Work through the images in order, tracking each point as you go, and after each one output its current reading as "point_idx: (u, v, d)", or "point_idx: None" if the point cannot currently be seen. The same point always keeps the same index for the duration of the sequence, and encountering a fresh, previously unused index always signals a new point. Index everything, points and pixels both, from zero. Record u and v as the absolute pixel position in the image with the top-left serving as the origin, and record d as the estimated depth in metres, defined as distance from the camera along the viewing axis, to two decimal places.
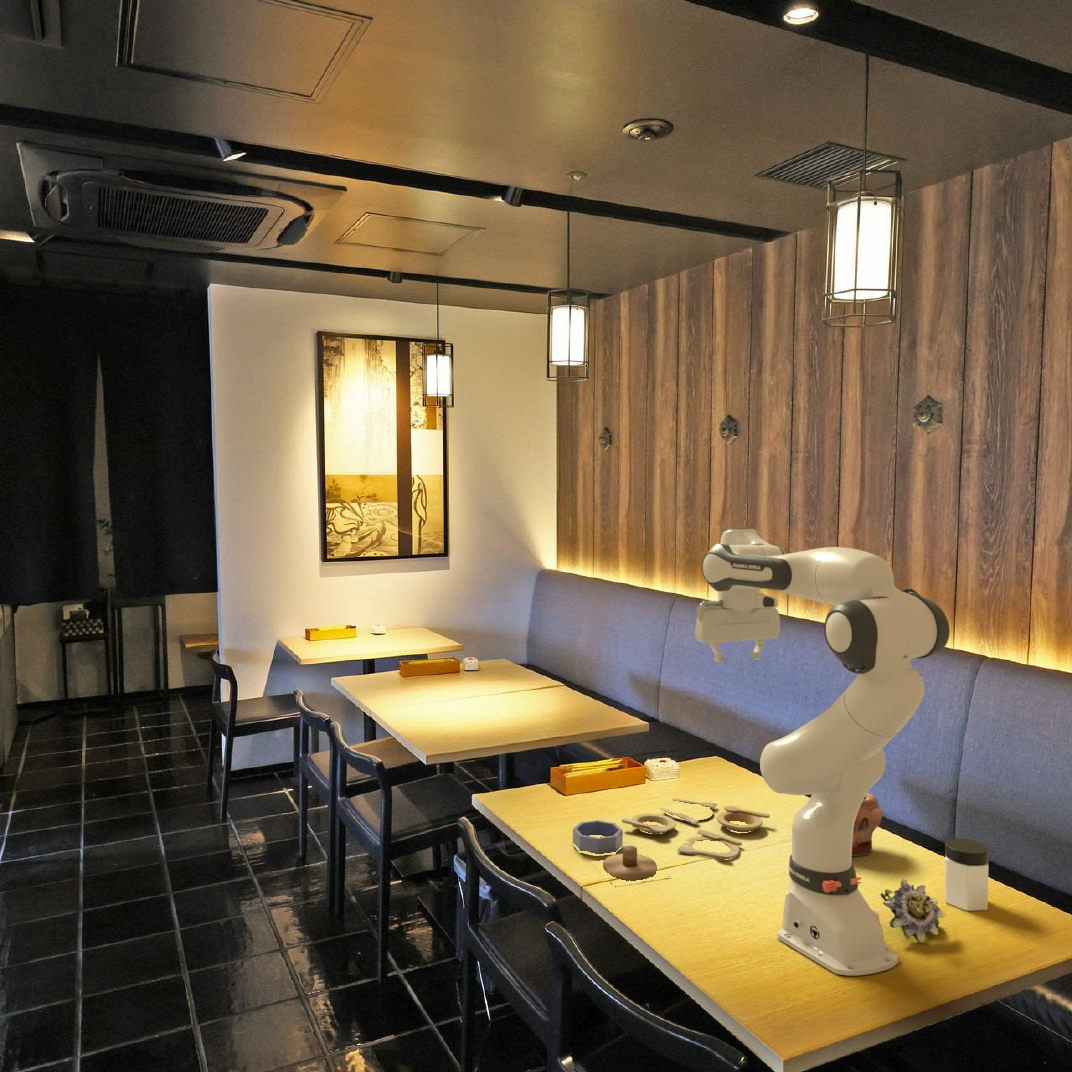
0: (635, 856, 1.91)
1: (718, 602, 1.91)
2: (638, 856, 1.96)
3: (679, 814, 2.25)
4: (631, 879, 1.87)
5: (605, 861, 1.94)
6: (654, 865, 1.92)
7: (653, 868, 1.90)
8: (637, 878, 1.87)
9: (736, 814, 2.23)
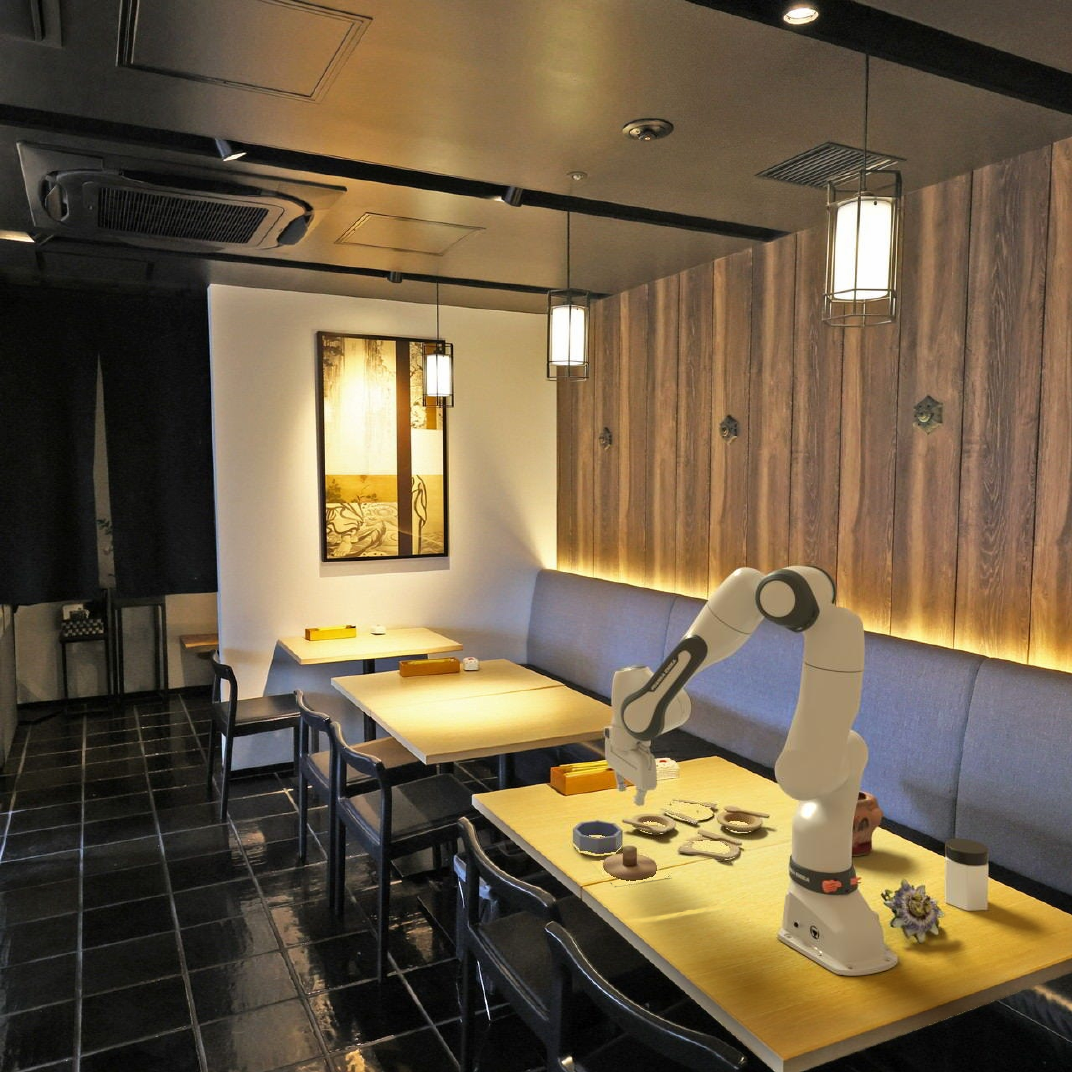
0: (635, 856, 1.91)
1: None
2: (637, 856, 1.97)
3: (679, 814, 2.25)
4: (631, 879, 1.87)
5: (605, 861, 1.94)
6: (654, 865, 1.92)
7: (653, 868, 1.90)
8: (637, 878, 1.87)
9: (736, 814, 2.23)
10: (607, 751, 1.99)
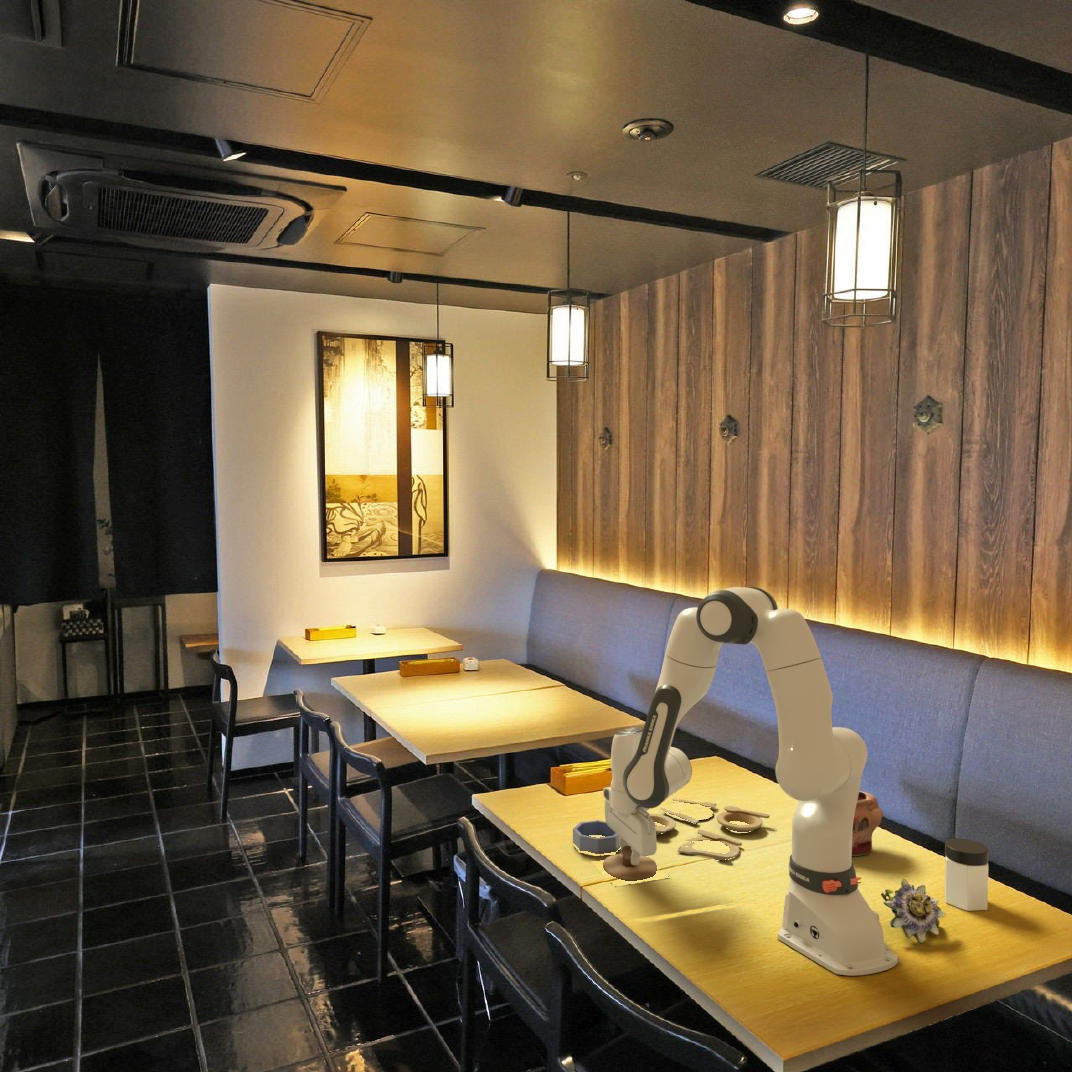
0: None
1: None
2: None
3: (679, 814, 2.25)
4: (631, 879, 1.87)
5: (605, 861, 1.94)
6: (654, 865, 1.92)
7: (653, 868, 1.90)
8: (637, 878, 1.87)
9: (736, 814, 2.23)
10: (607, 811, 2.00)
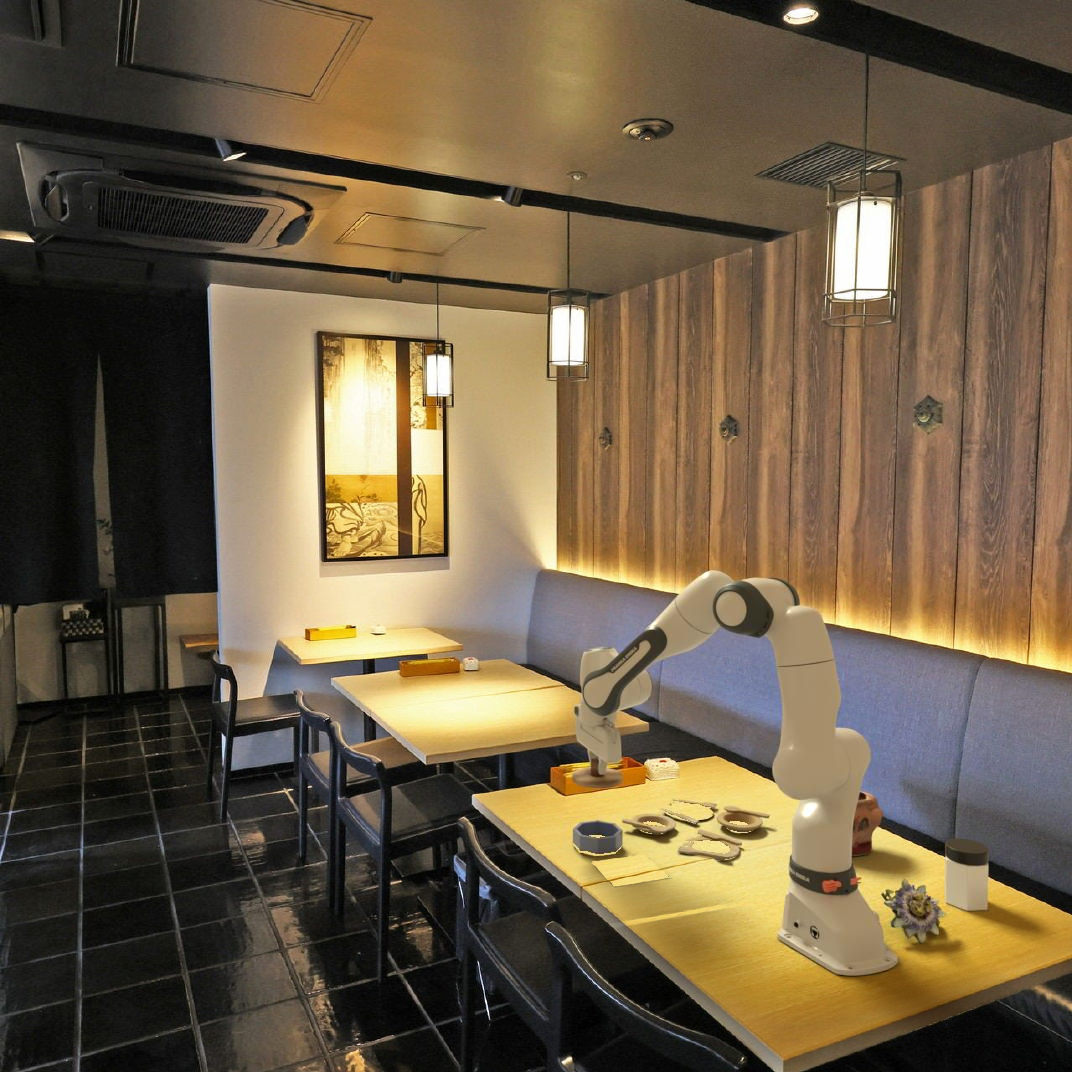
0: None
1: None
2: None
3: (679, 814, 2.25)
4: (598, 786, 1.98)
5: (574, 772, 2.06)
6: (620, 775, 2.04)
7: (619, 778, 2.02)
8: (603, 785, 1.99)
9: (736, 814, 2.23)
10: (577, 728, 2.11)
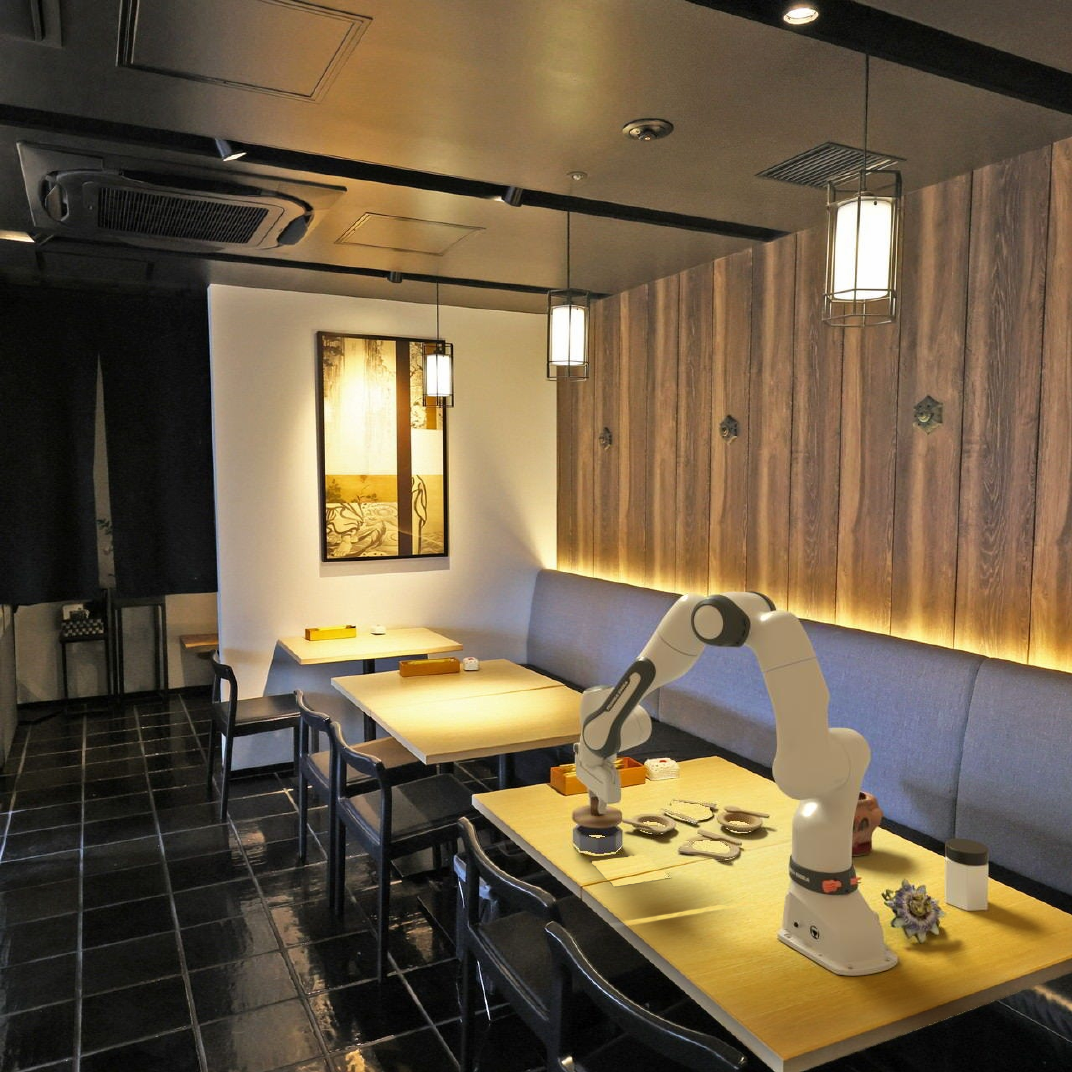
0: None
1: None
2: None
3: (679, 814, 2.25)
4: (598, 826, 1.99)
5: (574, 811, 2.06)
6: (620, 814, 2.04)
7: (619, 817, 2.03)
8: (603, 825, 1.99)
9: (736, 814, 2.23)
10: (577, 766, 2.12)
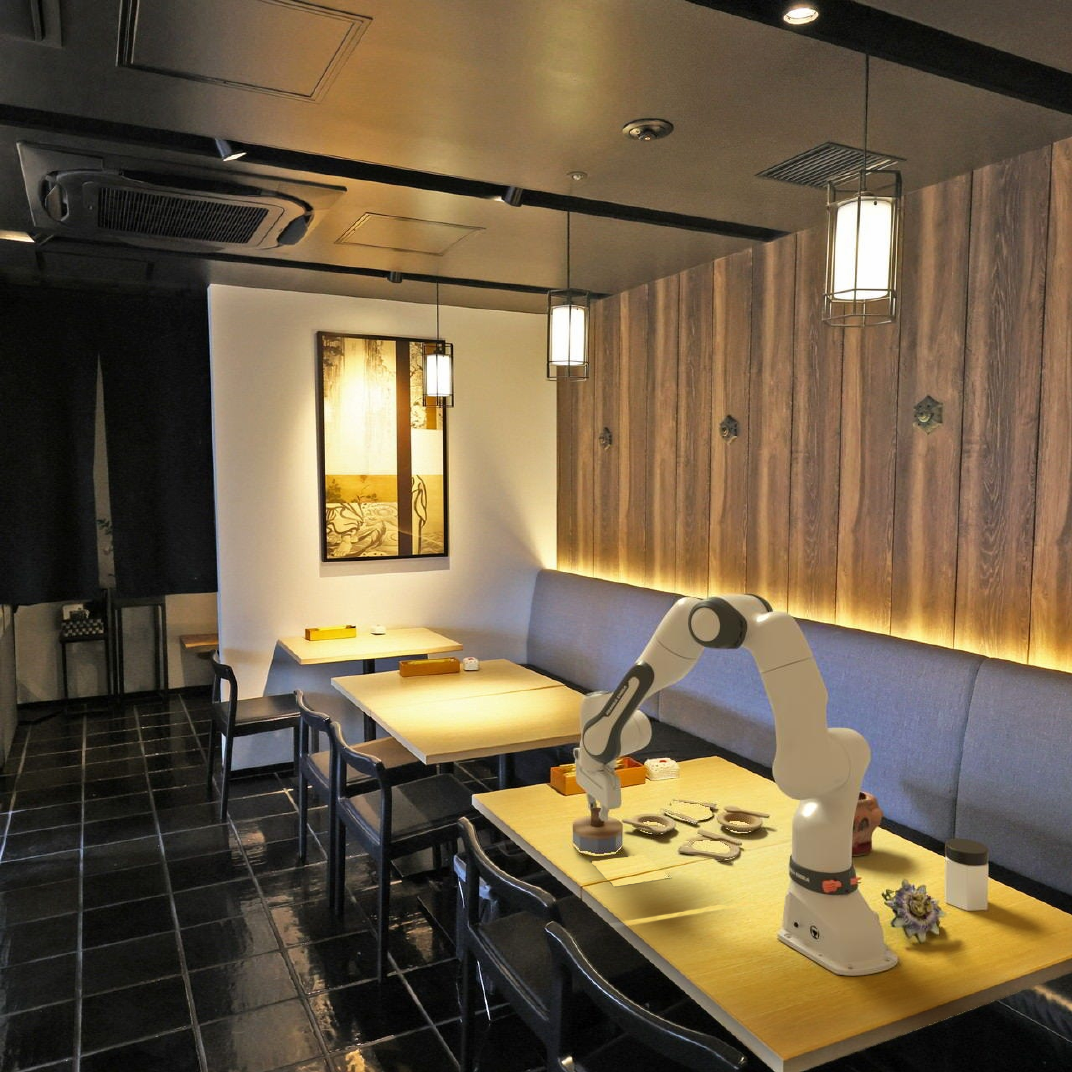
0: None
1: None
2: None
3: (679, 814, 2.25)
4: (598, 837, 1.99)
5: (575, 822, 2.06)
6: (620, 825, 2.04)
7: (619, 828, 2.03)
8: (604, 836, 1.99)
9: (736, 814, 2.23)
10: (577, 771, 2.12)
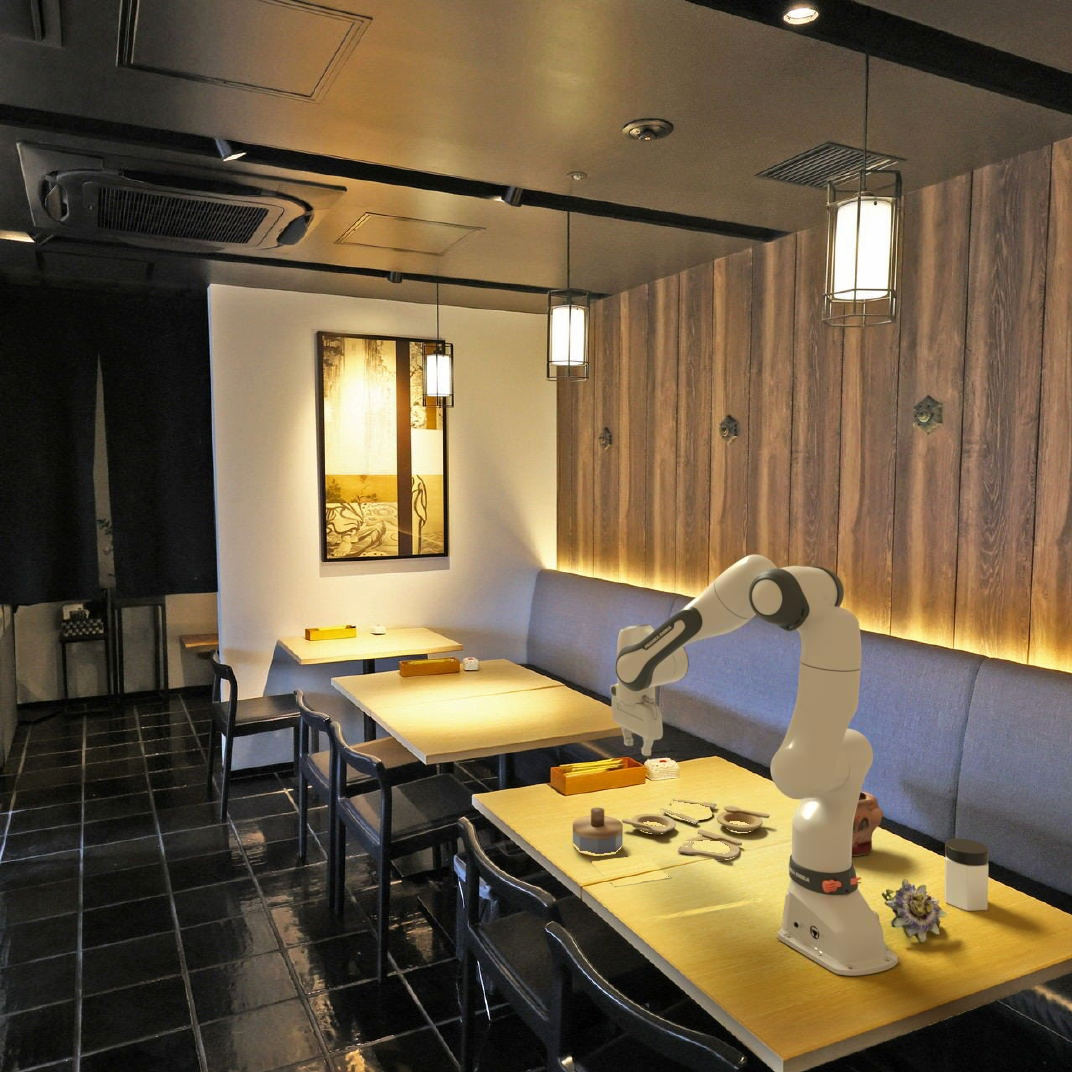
0: (602, 817, 2.04)
1: None
2: (605, 818, 2.09)
3: (679, 814, 2.25)
4: (598, 837, 1.99)
5: (575, 822, 2.06)
6: (620, 825, 2.04)
7: (619, 828, 2.03)
8: (604, 836, 1.99)
9: (736, 814, 2.23)
10: (614, 709, 2.10)
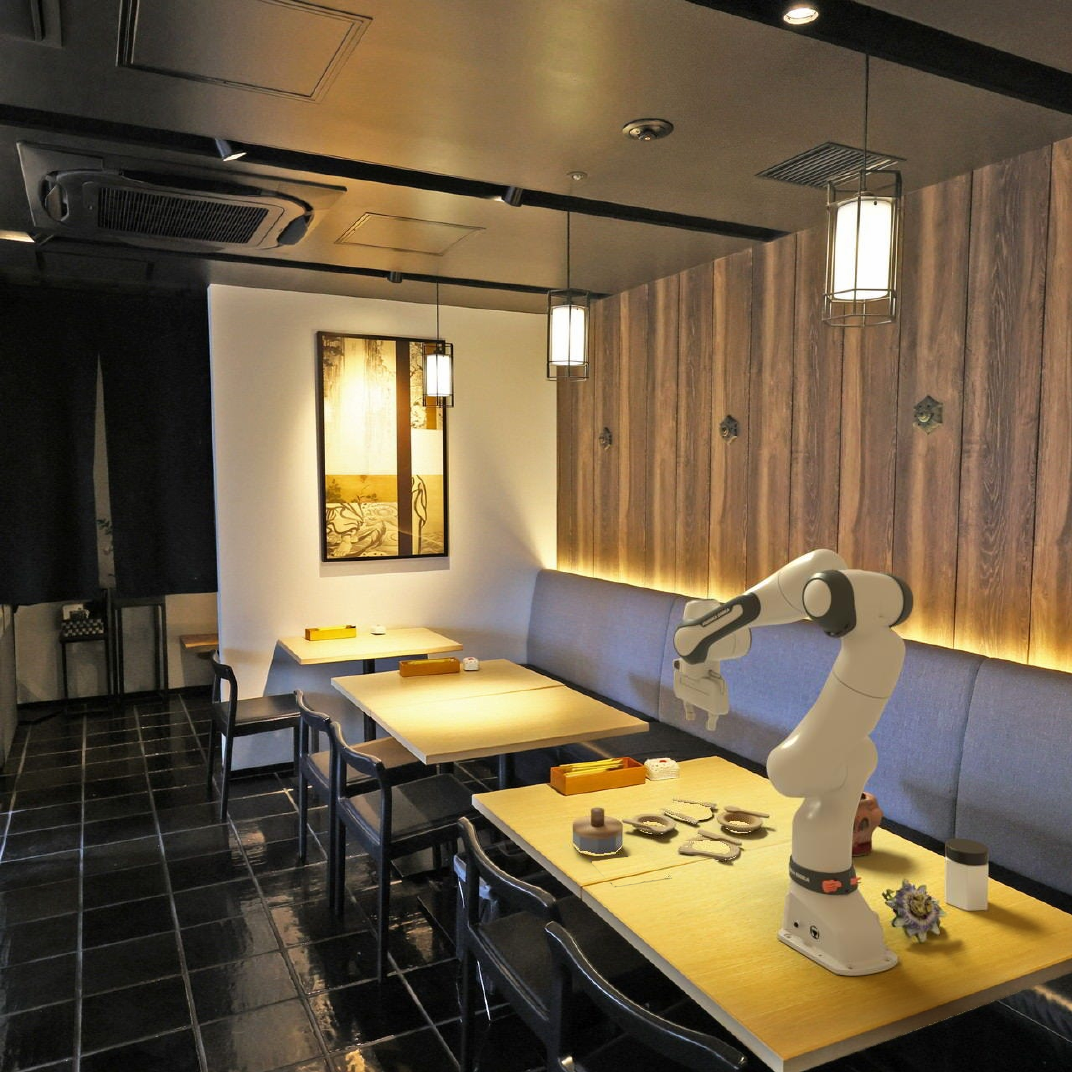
0: (602, 817, 2.04)
1: None
2: (605, 818, 2.09)
3: (679, 814, 2.25)
4: (598, 837, 1.99)
5: (575, 822, 2.06)
6: (620, 825, 2.04)
7: (619, 828, 2.03)
8: (604, 836, 1.99)
9: (736, 814, 2.23)
10: (676, 683, 2.09)
